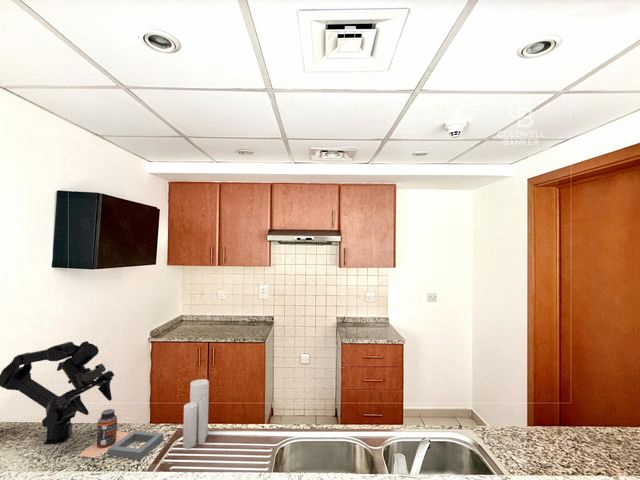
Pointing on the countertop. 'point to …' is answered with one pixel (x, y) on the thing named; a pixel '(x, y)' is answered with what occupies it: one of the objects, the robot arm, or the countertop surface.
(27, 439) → the countertop surface
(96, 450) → the terracotta mat
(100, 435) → the supplement bottle
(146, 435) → the filter housing collar
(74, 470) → the countertop surface
